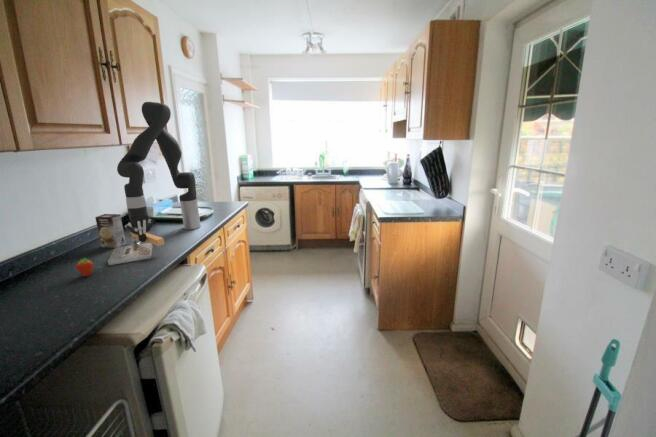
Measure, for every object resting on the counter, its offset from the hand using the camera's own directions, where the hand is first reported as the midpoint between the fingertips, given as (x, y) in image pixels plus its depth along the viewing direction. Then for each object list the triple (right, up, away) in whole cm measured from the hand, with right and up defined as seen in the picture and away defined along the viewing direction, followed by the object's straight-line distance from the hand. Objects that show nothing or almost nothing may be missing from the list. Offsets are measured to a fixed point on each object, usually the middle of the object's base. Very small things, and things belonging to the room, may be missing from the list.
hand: (143, 241), depth 145 cm
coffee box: (-23, -3, +14) cm, 27 cm away
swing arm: (-2, 0, +5) cm, 6 cm away
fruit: (-10, -13, -20) cm, 26 cm away
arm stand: (-12, -3, +13) cm, 18 cm away
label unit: (-5, -6, 0) cm, 8 cm away
